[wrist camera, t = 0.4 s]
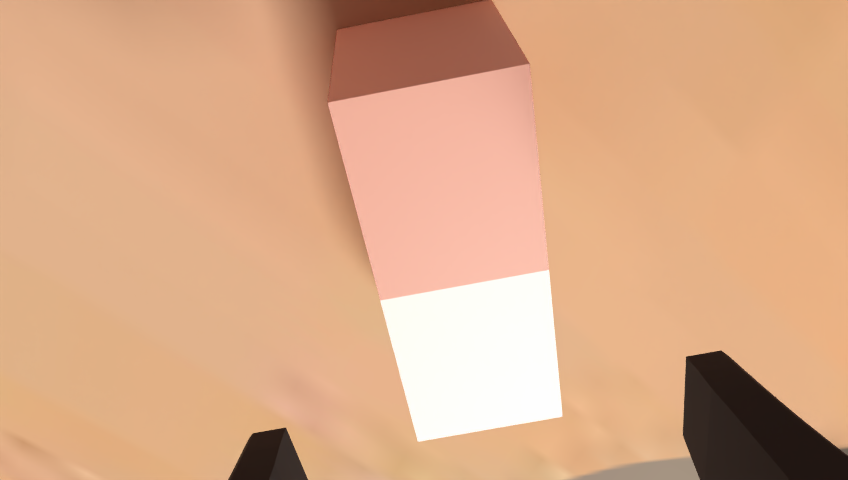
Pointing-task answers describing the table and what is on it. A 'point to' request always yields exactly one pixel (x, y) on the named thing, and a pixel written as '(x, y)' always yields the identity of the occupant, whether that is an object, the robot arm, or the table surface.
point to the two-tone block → (451, 212)
